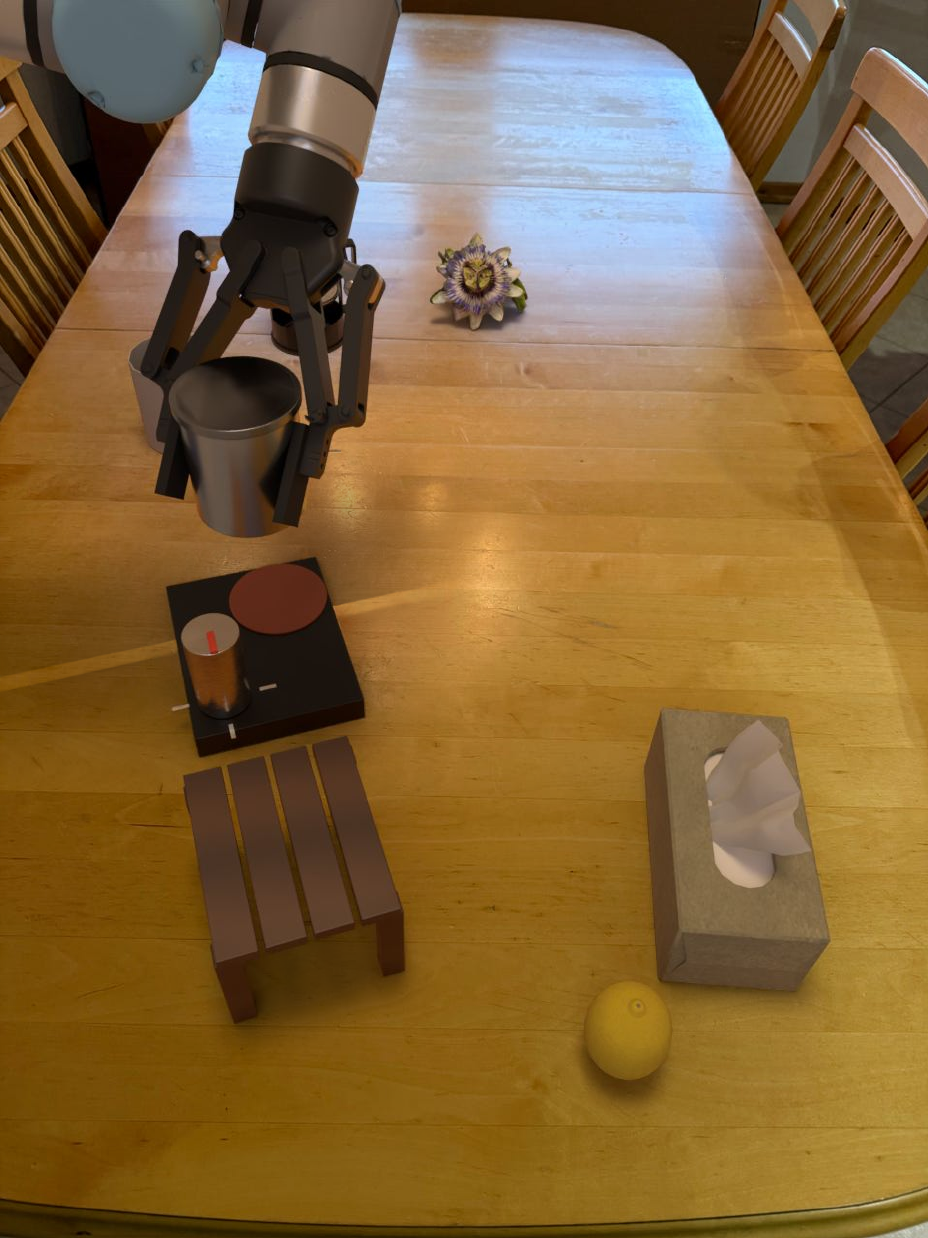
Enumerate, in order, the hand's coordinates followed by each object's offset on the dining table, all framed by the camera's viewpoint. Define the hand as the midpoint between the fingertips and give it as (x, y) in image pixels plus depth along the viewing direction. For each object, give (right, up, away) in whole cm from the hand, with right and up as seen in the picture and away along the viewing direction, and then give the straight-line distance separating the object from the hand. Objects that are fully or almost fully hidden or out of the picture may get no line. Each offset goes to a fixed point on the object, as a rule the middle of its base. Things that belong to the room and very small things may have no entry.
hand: (226, 510), depth 65 cm
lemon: (+26, -36, +1) cm, 45 cm away
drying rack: (+4, -28, +7) cm, 30 cm away
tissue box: (+35, -27, +11) cm, 45 cm away
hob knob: (-4, -14, +17) cm, 22 cm away
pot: (+1, +1, +4) cm, 4 cm away
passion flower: (+17, +33, +65) cm, 75 cm away
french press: (-3, +28, +60) cm, 66 cm away
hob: (-2, -11, +23) cm, 26 cm away
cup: (-15, +13, +45) cm, 50 cm away
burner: (-1, -5, +25) cm, 26 cm away
